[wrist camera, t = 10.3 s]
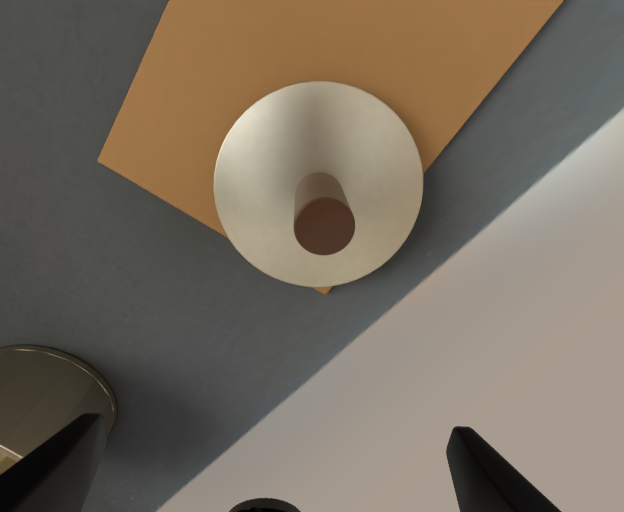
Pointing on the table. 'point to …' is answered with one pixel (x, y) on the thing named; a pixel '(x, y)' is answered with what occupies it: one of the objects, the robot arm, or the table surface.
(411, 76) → the mat
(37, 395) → the pot
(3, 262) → the table surface
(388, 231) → the lid
